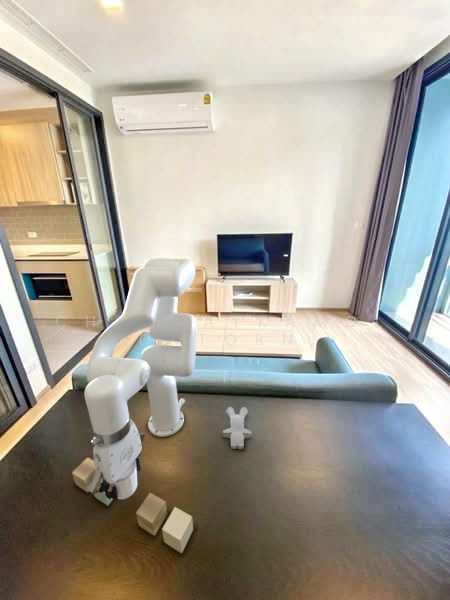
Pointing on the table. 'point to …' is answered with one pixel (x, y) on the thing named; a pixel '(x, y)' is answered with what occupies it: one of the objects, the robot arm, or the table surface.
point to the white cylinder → (127, 482)
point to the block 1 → (84, 474)
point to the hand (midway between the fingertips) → (124, 481)
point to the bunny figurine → (237, 428)
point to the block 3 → (151, 513)
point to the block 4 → (177, 529)
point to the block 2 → (103, 497)
